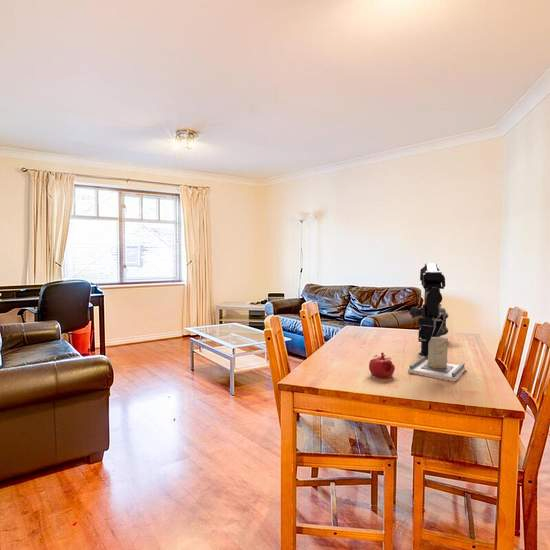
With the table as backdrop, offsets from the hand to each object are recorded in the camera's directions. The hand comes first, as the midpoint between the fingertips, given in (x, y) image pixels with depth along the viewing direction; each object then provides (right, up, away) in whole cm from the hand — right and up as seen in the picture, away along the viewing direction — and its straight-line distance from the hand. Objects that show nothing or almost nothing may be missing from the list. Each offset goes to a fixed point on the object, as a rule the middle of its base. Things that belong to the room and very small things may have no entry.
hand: (431, 339), depth 162 cm
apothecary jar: (+24, -10, +54) cm, 60 cm away
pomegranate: (-22, -14, -6) cm, 27 cm away
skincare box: (+2, -11, -1) cm, 12 cm away
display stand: (+2, -13, -1) cm, 13 cm away
